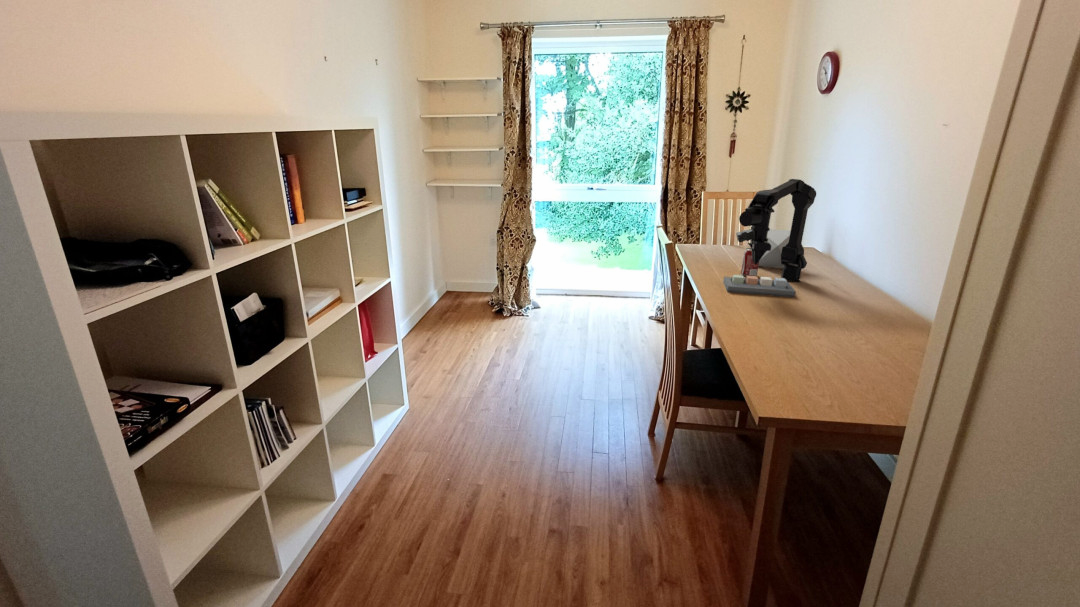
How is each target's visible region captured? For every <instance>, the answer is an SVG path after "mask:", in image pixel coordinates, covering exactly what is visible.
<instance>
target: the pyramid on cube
mask: <svg viewBox="0 0 1080 607" xmlns="http://www.w3.org/2000/svg"><path fill="white" fill-rule="evenodd" d="M790 231H791V230H789V229H788V230H787V229H786V230H785V229H772V228H770V230H769V231H768V234H767V238H768V242H769V243H770V245H771V251H766V252H765V254H764V255H763V256H762V258H761V259H760V261H759V266H764V267H763V268H770V267H774V268H773V269H781V268H784V266H785V265H782V264H781V253H782V248H783V246H786V245H787V244H788V242H789V237H790ZM759 266H758V267H759Z"/></svg>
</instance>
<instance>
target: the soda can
mask: <svg viewBox="0 0 1080 607" xmlns="http://www.w3.org/2000/svg"><path fill="white" fill-rule="evenodd" d="M741 263H742V264H741V269H740V275H743V277H745V278H746V277H747V276H757V277H758V271H759V262H758V263H757V264H754V262H753V261H752V250H751V247H747V248H745V250H744V251H743V256H742V262H741Z"/></svg>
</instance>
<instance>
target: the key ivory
mask: <svg viewBox="0 0 1080 607" xmlns="http://www.w3.org/2000/svg"><path fill="white" fill-rule="evenodd" d="M759 279H760V284H761V285H762V286H772V281H773V280H774V279H772V277H770V276H760V277H759Z"/></svg>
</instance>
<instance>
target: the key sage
mask: <svg viewBox="0 0 1080 607" xmlns="http://www.w3.org/2000/svg"><path fill="white" fill-rule="evenodd" d="M731 277H732V282H733V283H736V284H743V282H744V278H745V276H743V275H742V274H732V276H731Z"/></svg>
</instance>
